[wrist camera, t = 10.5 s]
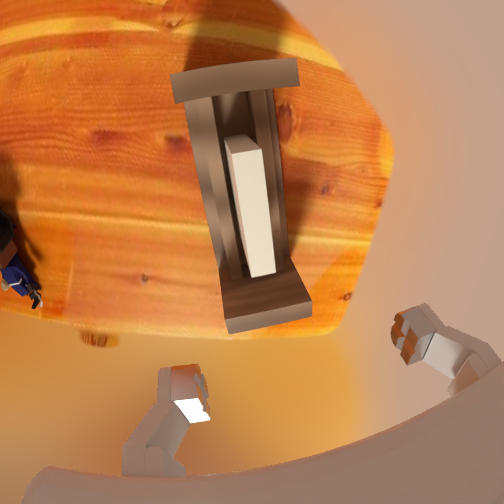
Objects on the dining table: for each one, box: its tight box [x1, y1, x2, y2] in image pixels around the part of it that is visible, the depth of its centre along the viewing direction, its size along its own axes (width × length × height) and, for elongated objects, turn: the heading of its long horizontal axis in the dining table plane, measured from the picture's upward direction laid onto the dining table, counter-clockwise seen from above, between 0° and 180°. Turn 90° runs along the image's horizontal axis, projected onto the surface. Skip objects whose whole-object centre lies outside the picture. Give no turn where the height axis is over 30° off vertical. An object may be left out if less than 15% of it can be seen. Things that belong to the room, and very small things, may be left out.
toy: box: [0, 208, 42, 309], centre depth 25 cm, size 9×6×15 cm
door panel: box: [223, 134, 276, 278], centre depth 24 cm, size 10×2×8 cm, turn 7°
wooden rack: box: [170, 58, 312, 334], centre depth 25 cm, size 22×8×9 cm, turn 7°
